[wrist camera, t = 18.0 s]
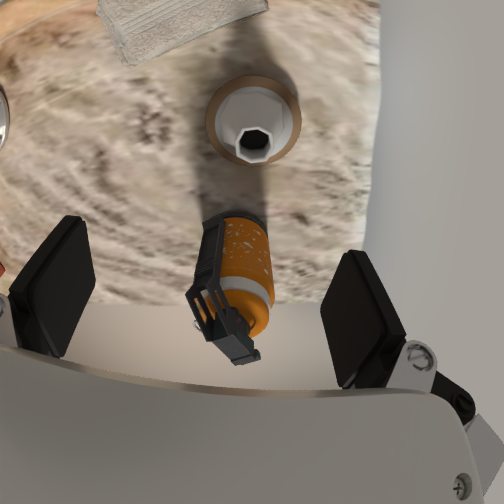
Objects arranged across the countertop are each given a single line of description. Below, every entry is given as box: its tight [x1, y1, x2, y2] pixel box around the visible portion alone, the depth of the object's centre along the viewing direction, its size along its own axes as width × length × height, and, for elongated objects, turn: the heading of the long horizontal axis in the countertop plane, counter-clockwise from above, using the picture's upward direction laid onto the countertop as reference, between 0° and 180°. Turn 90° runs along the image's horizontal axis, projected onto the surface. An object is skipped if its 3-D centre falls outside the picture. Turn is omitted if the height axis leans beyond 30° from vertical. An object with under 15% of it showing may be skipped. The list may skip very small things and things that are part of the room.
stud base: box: [205, 75, 302, 166], centre depth 32 cm, size 11×11×4 cm
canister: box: [185, 211, 275, 366], centre depth 34 cm, size 9×11×20 cm
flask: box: [219, 91, 285, 163], centre depth 26 cm, size 7×7×10 cm
